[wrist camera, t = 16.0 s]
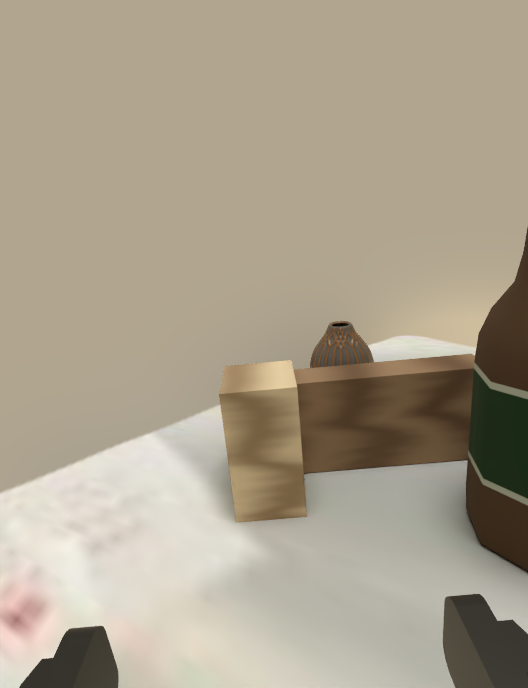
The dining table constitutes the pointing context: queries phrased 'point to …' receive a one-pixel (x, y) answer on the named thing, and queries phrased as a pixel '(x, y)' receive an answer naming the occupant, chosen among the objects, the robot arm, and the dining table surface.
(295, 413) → the maple block
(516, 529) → the beer bottle
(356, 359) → the vase
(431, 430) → the walnut board
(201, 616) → the dining table surface
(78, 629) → the robot arm
